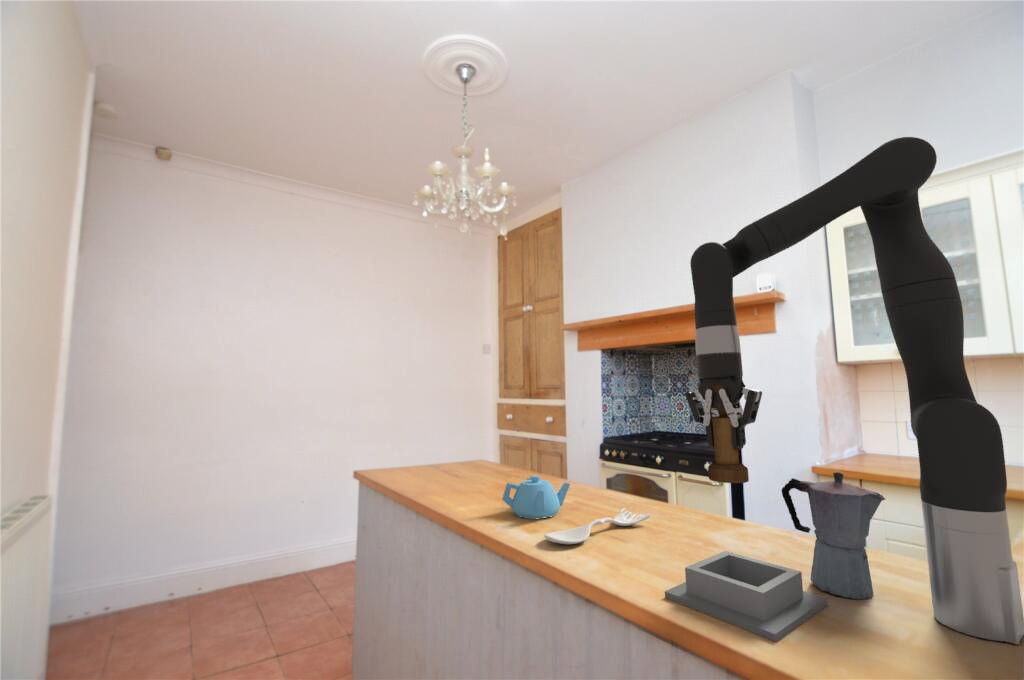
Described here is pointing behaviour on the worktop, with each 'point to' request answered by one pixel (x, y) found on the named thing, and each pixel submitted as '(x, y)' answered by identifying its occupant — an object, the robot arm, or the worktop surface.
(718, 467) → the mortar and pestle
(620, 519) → the white spork utensil
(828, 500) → the moka pot
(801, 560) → the worktop surface
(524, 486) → the teapot
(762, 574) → the socket board
